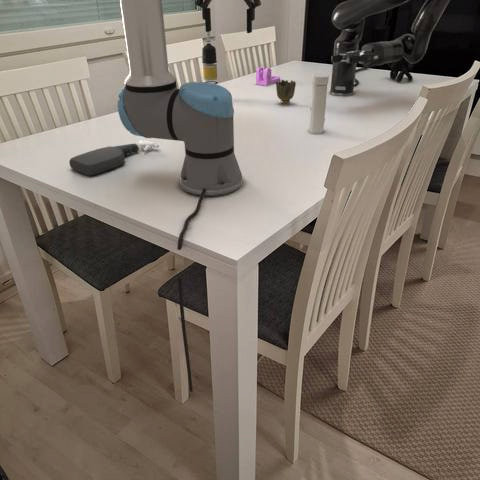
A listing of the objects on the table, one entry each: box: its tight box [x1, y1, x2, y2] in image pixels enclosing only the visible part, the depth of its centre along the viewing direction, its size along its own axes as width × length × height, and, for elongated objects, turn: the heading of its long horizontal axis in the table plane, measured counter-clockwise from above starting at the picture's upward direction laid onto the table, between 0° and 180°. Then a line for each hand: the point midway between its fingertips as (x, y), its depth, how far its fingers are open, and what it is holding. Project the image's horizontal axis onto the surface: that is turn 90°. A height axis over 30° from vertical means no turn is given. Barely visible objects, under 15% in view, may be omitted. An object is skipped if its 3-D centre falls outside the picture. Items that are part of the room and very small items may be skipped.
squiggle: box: [386, 57, 414, 83], centre depth 198 cm, size 11×10×15 cm
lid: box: [311, 73, 330, 86], centre depth 134 cm, size 5×5×2 cm
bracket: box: [255, 66, 281, 87], centre depth 199 cm, size 13×6×7 cm, turn 143°
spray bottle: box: [68, 139, 160, 177], centre depth 124 cm, size 3×11×24 cm
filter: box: [201, 31, 219, 85], centre depth 171 cm, size 6×6×30 cm
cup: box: [275, 79, 297, 106], centre depth 168 cm, size 8×7×8 cm
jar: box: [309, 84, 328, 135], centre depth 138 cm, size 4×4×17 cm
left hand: (228, 32), depth 139 cm, fingers open, 13 cm apart
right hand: (340, 59), depth 148 cm, fingers open, 8 cm apart
